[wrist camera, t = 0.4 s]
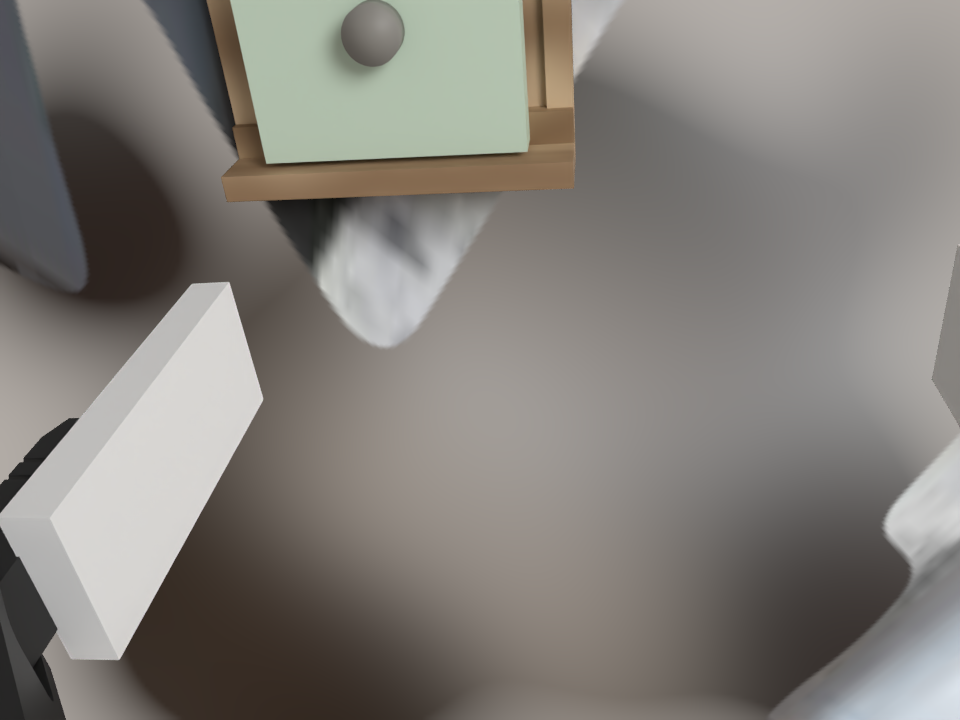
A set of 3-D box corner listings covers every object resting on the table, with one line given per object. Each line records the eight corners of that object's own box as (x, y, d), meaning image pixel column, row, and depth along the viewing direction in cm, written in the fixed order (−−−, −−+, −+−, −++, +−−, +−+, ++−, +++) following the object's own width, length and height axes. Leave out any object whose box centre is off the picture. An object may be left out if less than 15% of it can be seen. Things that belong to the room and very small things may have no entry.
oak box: (181, -150, 37) (139, -146, 33) (566, -188, 34) (562, -187, 31) (254, 171, 44) (227, 201, 41) (575, 157, 42) (573, 188, 38)
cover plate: (222, -111, 36) (194, -104, 33) (514, -138, 34) (508, -133, 32) (278, 150, 42) (257, 173, 39) (530, 138, 40) (526, 161, 37)
